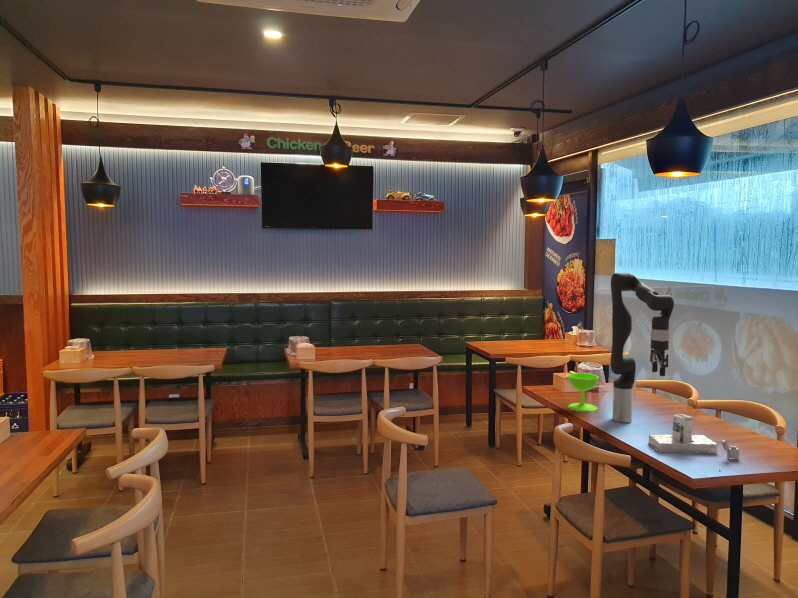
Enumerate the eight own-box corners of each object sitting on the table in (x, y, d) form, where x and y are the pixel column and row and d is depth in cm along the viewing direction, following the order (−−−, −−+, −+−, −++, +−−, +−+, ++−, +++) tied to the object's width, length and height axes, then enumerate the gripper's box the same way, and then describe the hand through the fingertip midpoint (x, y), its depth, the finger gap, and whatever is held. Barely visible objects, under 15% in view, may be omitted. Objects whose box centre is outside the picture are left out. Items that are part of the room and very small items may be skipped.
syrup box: (670, 446, 251) (672, 414, 250) (681, 445, 253) (682, 413, 252) (681, 450, 245) (682, 418, 244) (691, 449, 247) (693, 416, 246)
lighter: (736, 457, 237) (737, 439, 237) (738, 459, 236) (739, 440, 235) (719, 458, 237) (720, 439, 236) (722, 459, 235) (723, 440, 235)
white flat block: (648, 443, 255) (649, 434, 255) (703, 444, 254) (703, 435, 254) (659, 452, 243) (659, 443, 243) (716, 453, 242) (717, 444, 242)
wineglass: (601, 412, 305) (602, 379, 303) (571, 412, 305) (572, 379, 304) (592, 404, 321) (593, 373, 319) (563, 404, 321) (564, 373, 320)
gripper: (645, 336, 266) (644, 370, 267) (657, 341, 251) (656, 377, 253) (661, 336, 265) (660, 370, 267) (675, 341, 251) (673, 377, 252)
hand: (658, 374), depth 260 cm, fingers open, 8 cm apart
